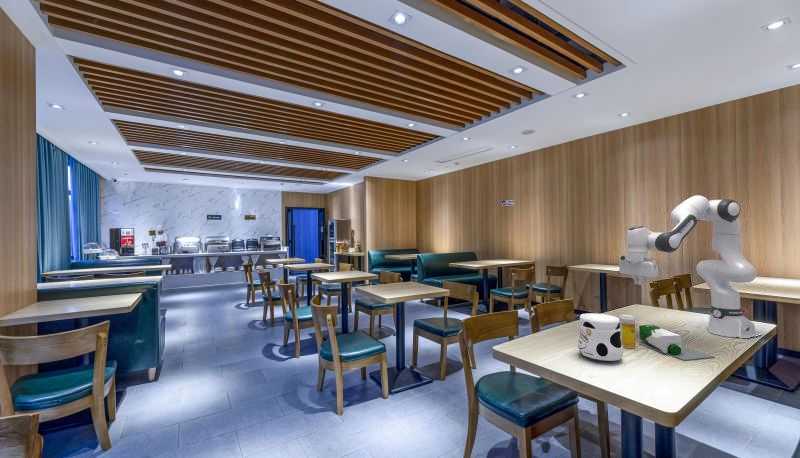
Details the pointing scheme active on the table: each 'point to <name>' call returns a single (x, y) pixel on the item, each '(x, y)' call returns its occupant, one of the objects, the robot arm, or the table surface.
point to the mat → (685, 355)
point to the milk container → (600, 337)
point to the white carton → (661, 339)
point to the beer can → (627, 331)
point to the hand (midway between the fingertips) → (638, 284)
